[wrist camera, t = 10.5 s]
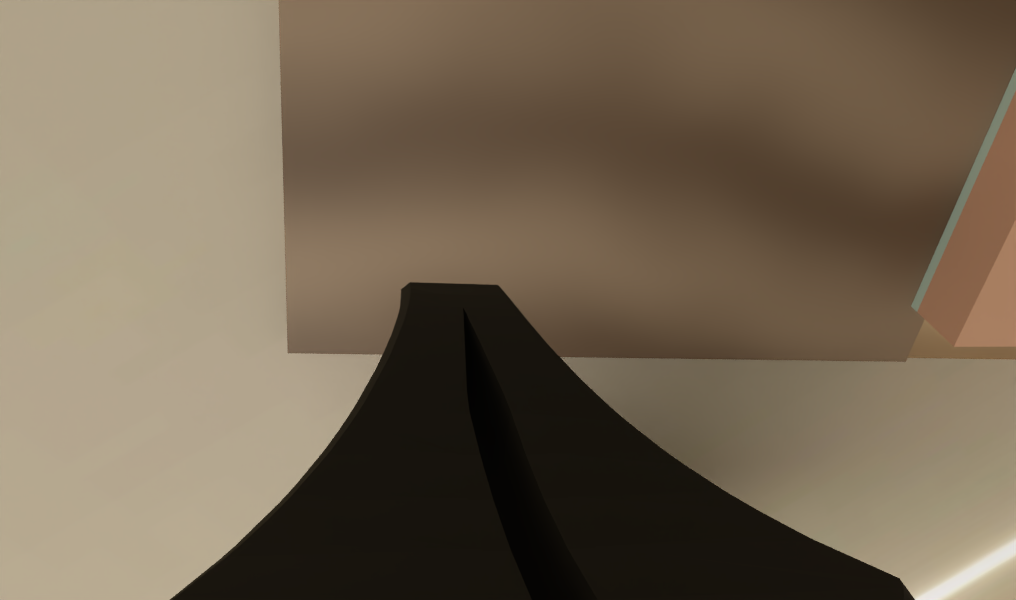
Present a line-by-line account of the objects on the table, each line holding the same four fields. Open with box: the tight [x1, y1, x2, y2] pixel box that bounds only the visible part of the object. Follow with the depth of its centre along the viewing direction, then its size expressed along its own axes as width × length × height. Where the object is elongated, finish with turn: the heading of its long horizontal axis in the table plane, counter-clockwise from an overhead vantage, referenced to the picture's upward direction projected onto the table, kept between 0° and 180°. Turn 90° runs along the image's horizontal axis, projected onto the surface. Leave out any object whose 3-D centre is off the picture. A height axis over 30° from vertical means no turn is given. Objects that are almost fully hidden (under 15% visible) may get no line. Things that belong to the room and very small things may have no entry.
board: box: [279, 0, 1016, 362], centre depth 21 cm, size 11×27×2 cm, turn 83°
